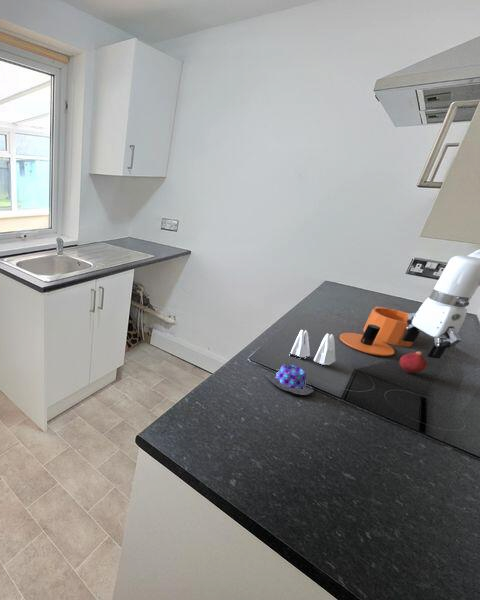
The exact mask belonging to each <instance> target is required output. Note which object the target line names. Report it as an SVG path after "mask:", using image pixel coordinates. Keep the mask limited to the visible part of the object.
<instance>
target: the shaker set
mask: <svg viewBox="0 0 480 600" xmlns="http://www.w3.org/2000/svg"><path fill="white" fill-rule="evenodd" d="M335 345H336V343H335V336H334V334H332V333H331V334H329V333H326V334H325V335H324V337H323V338H322V341H321V342H320V345H319V347H318V349H317V352H316V354H315V355H314V358H313V361H314V363H316V364H318V363H319V364H321V365H320V366H322V365H328V366H330V365H332V364H334V363H335V362H336V361H337V360H336V349H335V347H336V346H335ZM290 353H291V354H295V355H297V356H299V357H305V358H304V359H307V357H309V356H310V357H311V351H310V341H309V333H308V331H307V329H305V330H304V329H300V331H299V333H298V334H297V336H296V339H295V341H294V344H293V346H292V348H291V351H290ZM306 356H307V357H306ZM319 364H318V365H319Z"/></svg>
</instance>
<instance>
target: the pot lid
mask: <svg viewBox="0 0 480 600" xmlns="http://www.w3.org/2000/svg"><path fill="white" fill-rule="evenodd" d="M379 330H380V327H378V326H376V325H372V324H369V325H368V326H367V328H366V330H365V332H364V331H363V334H361V333H355V332H342V333H341V334H339V340H340V341H341V342H342V343H344V344H345V345H347V346H348V347H351V348H352V349H354V350H356V351H359V352H363V353H366V354H369V355H374V356H380V357H391V356H393V355H394V354H395V350H394V348H393V347H392V346H390V344H388V343H384V342H382V341H380V340H377V339H375V338H376V336H377V334H378V332H379Z"/></svg>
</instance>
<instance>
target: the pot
mask: <svg viewBox="0 0 480 600" xmlns="http://www.w3.org/2000/svg"><path fill="white" fill-rule="evenodd" d="M409 313H410V312H406V311H402V310H399V309H393V308H388V307H383V306H375V307H374V308H372V309H371V311H370V313H369V315H368V318H367V320H366V322H365V325H364V327H363V329H362V330H363V331H362V332H363V333H364V332H365V330H366V328H367V326H368V325H369V324H372V325H376V326H378V327H380V330H379V332H378V334H377V336H376V338H375V339H377V340H380V341H382V342H384V343H386V344H387V345H392V346H396V347H406V348H407V347H412V346H413V344H414V343H415V341H414V342H408V341H403V340H402V338H403V336H404V334H405V332H406V331H407V328H406V327H407V326H408V324H407V320H408V314H409ZM417 331H420V332H421V330H417Z"/></svg>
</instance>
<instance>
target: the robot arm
mask: <svg viewBox="0 0 480 600" xmlns="http://www.w3.org/2000/svg"><path fill="white" fill-rule="evenodd" d="M479 287H480V248H479V249H477V250H475V251H473V252H472V253H470V254H467V255H455V256H452V257H451V258H450V259H449V260H448V262H447V264H446V266H445V267H444V270H443V271H442V272H441V274H440V276H439V278H438V280H437V281H436V284H435V286H433V289H432V291H431V293H430V295H429V296H428V297H427V298H426V299H425V300H424V302H422V304H421V305H420V307H419V308H418V310H417V311H416V312H408V313H409V314H408V320H407V324H408V326H407V327H406V328H407V331H406V332H405V334H404V336H403V338H402V340H403V341H408V342H414V343H415V341H416V340H417V337H418V336H419V334H420V332H421V331H422V332H423V333H425V334H427V335H428V336H430V337H432V338H433V340H434V344H432V345H431V346H430V348H429V349H428V351H427V353H426V355H425V356H426V357H427V358H430V359H431V358H432V359H438V360H439V359H441V357H442V355H443V354H444V352H445V351H446V349H450V348H451V347H455V346H456V345H457V344H459V343H461V342H462V338H461V337H460V335H459V332H460V330H461V328H462V327H463V324H464V322H465V319H466V316H467V312H468V309H467V308H466V307H467V306H469V305H470V301H471V300H472V298H473V296H474V295H475V292H476V291H477V289H478V288H479ZM417 330H421V331H417Z"/></svg>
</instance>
